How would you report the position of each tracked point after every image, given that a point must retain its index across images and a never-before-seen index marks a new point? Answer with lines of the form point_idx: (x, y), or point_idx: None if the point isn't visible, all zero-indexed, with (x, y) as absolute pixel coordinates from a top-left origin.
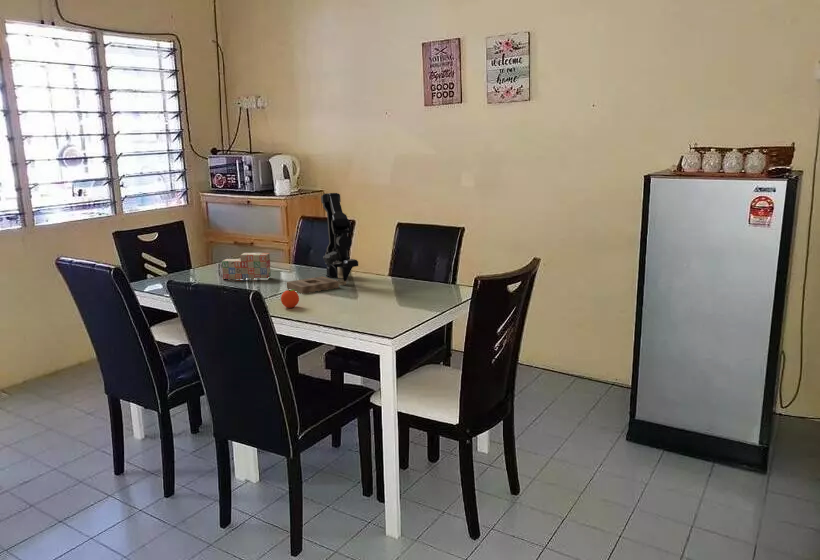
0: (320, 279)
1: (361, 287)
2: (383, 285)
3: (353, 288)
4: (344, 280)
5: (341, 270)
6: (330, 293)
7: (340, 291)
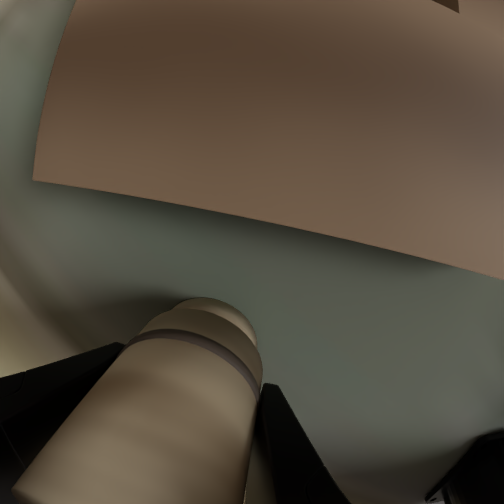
0: (413, 59)
1: (10, 324)
2: None
3: (8, 259)
4: (114, 346)
5: (48, 446)
6: (33, 2)
7: (6, 98)
